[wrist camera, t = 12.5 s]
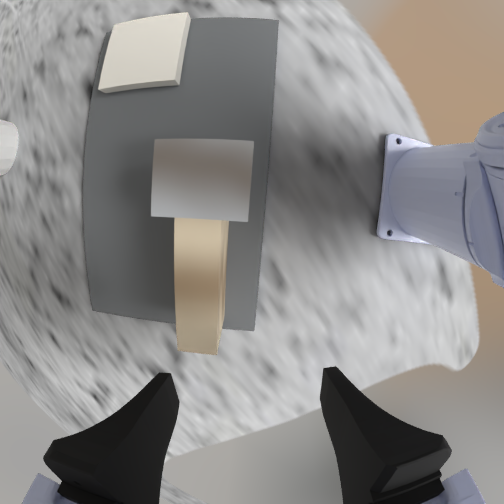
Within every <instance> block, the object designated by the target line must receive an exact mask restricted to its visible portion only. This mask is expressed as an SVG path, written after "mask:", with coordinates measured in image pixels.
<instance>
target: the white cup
mask: <svg viewBox="0 0 504 504" xmlns="http://www.w3.org/2000/svg"><path fill="white" fill-rule="evenodd" d="M18 138H19V136H18V131H17V128H16V126H15V125H14V123H11V122H8V121H4V120H0V176H1V175H4V174H6V173H7V172H8V171H9V170H10V169H11V167H12V165H13V163H14V160H15V158H16V154H17V150H18Z"/></svg>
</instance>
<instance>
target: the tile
mask: <svg viewBox="0 0 504 504" xmlns="http://www.w3.org/2000/svg"><path fill="white" fill-rule="evenodd" d="M190 22H191V19H190V16H189V14H188V12H185V13H175V14H167V15H159V16H153V17H147V18H141V19H136V20H131V21H127V22H122V23H118V24H114V26H113V30H112V33H111V36H110V40H109V43H108V47H107V51H106V55H105V59H104V63H103V68H102V72H101V77H100V82H99V87H98V90H100V91H102V92H104V93H111V92H117V91H124V90H131V89H140V88H149V87H160V86H175V85H180V78H181V71H182V65H183V59H184V53H185V47H186V42H187V37H188V31H189V26H190Z"/></svg>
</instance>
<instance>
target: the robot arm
mask: <svg viewBox="0 0 504 504" xmlns="http://www.w3.org/2000/svg"><path fill="white" fill-rule="evenodd" d="M396 139H398V140H399V144H397V143H396ZM388 230H390V234H389V235H387V231H388ZM377 235H378V236H379V237H380V238H382V239H389V240H398V241H407V242H415V243H424V244H432V245H434V246H436V247H439V248H441V249H443V250H445V251H447V252H450V253H452V254H454V255H456V256H458V257H460V258H462V259H464V260H466V261H468V262H471V263H473V264H475V265H477V266H479V267H481V268H483V269H485V270H487V271H488V272H489V273H490V274H491V276H492V280H493V282H494V283H496V284H497V285H499V286H501V287H503V288H504V112H502V113H500V114H498V115H496V116H494V117H492V118H491V119H489V120H488V121H486V122H485V123H484V124H483V125H482V126H481V127H480V129H479V132H478V135H477V137H476V138H475V141H474V142H473V143H460V144H449V145H439V146H433V145H430V144H427V143H424V142H421V141H418V140H414V139H411V138H408V137H404V136H401V135H397V134H393V133H390V134H388V135H387V136H386V140H385V159H384V173H383V184H382V194H381V203H380V211H379V219H378V226H377ZM320 401H321V407H322V412H323V416H324V419H325V422H326V426H327V429H328V432H329V434H330V437H331V441H332V444H333V447H334V450H335V454H336V457H337V463H338V468H339V475H340V481H341V488H342V495H343V504H485V501H484V499H483V497H482V495H481V493H480V491H479V489H478V487H477V485H476V484H475V482H474V480H473V478H472V476H471V475H470V473H469V471H468V469H464V470H462V471H460V472H458V473H457V474H455V475H453V476H451V477H449V478H447V479H446V480H444V481H443V482H442V483H441V481H440V477H441V476H442V474H441V472H440V468H441V467H442V466H443V465H444V463H445V462H446V461H447V460H448V458H449V457H450V455H451V452H452V450H451V448H450V447H449V445H448V443H447V441H446V440H445V438H444V437H443V435H439V434H435V433H431V432H428V431H425V430H422V429H419V428H417V427H414V426H412V425H410V424H407V423H405V422H403V421H401V420H399V419H397V418H395V417H394V416H392V415H390V414H389V413H387V412H385V411H384V410H382V409H381V408H380V407H378V406H377V405H376V404H374V403H373V402H372V401H371V400H370V399H368V398H367V397H366V396H365V395H364V394H363V393H362V392H361V391H360V390H358V389H357V388H356V387H355V386H354V385H353V384H352V383H351V382H350V381H349V380H348V379H347V377H346V376H345V375H344V374H343V373H342V372H341V371H340V370H339V369H338V368H337V367H329V368H324V369H323V377H322V386H321V393H320ZM178 409H179V399H178V396H177V392H176V389H175V386H174V382H173V379H172V376H171V373H158V374H157V375H156V376H155V377H154V378H153V379H152V380H151V381H150V382H149V383H148V384H147V385H146V386H145V387H144V388H143V389H142V390H141V391H140V392H139V393H138V394H137V395H136V396H135V397H134V398H133V399H131V400H130V401H129V402H128V403H127V404H126V405H124V406H123V407H122V408H121V409H119V410H118V411H117V412H115V413H114V414H113V415H111V416H110V417H108V418H106V419H105V420H103V421H101V422H100V423H98V424H96V425H94V426H92V427H90V428H88V429H86V430H84V431H81V432H79V433H76V434H74V435H71V436H67V437H64V438H61V439H57V440H54V441H53V442H52V444H51V446H50V447H49V449H48V451H47V452H46V454H45V455H44V458H43V459H44V462H45V464H46V465H47V466H48V467H49V468H50V469H51V470H52V471H53V472H54V473H55V474H56V475H57V476H58V477H59V478H60V479H61V480H62V482H61V484H60V485H59V484H58V483H56V482H55V481H53V480H51V479H49V478H47V477H45V476H43V475H41V474H39V473H38V474H37V476H36V478H35V479H34V481H33V483H32V485H31V487H30V489H29V491H28V492H27V494H26V496H25V498H24V500H23V502H22V504H159V497H160V486H161V478H162V471H163V465H164V460H165V456H166V452H167V449H168V446H169V442H170V439H171V436H172V433H173V430H174V427H175V423H176V420H177V415H178Z"/></svg>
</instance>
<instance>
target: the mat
mask: <svg viewBox="0 0 504 504" xmlns="http://www.w3.org/2000/svg"><path fill="white" fill-rule="evenodd" d="M278 24H279V20H271V19H258V18H197V19H191V22H190V26H189V31H188V37H187V42H186V47H185V53H184V59H183V65H182V71H181V78H180V85H175V86H160V87H149V88H140V89H131V90H124V91H117V92H111V93H104V92H102V91H100V90H98V87H99V82H100V77H101V72H102V68H103V63H104V59H105V55H106V51H107V47H108V43H109V40H110V36H111V33H112V32H108V33H106V36H105V39H104V43H103V47H102V50H101V54H100V58H99V62H98V67H97V71H96V76H95V81H94V86H93V91H92V97H91V103H90V109H89V116H88V124H87V133H86V143H85V155H84V173H83V225H84V243H85V256H86V266H87V275H88V283H89V291H90V298H91V304H92V310H93V311H98V312H103V313H108V314H114V315H120V316H126V317H132V318H138V319H145V320H152V321H159V322H166V323H174V324H176V312H175V283H174V221H175V218H174V217H154V216H151V193H152V171H153V156H154V143H155V139H226V140H245V141H254V149H253V162H252V175H251V188H250V201H249V215H248V222H240V221H229V230H228V248H227V267H226V288H225V312H224V321H223V326H222V329H233V330H247V331H254V328H255V317H256V307H257V296H258V284H259V273H260V262H261V250H262V239H263V227H264V215H265V203H266V191H267V178H268V165H269V153H270V140H271V126H272V113H273V99H274V85H275V70H276V55H277V40H278Z"/></svg>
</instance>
